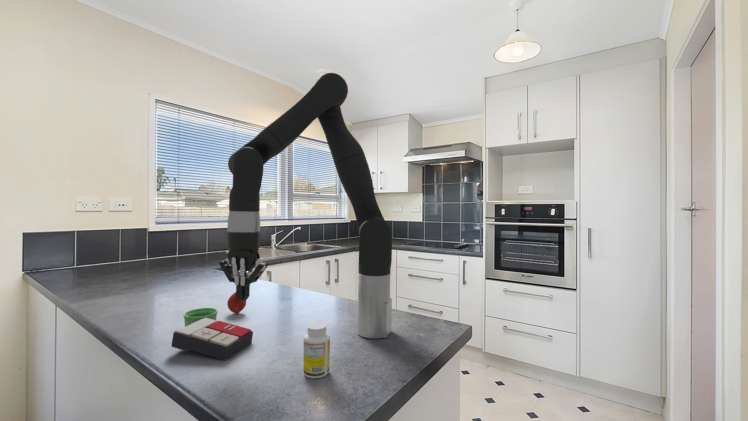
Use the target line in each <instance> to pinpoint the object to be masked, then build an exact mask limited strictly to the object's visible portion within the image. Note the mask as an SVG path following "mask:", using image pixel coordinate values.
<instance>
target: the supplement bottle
mask: <svg viewBox="0 0 748 421" xmlns="http://www.w3.org/2000/svg"><path fill="white" fill-rule="evenodd" d="M330 336H331V335H330V334H329V332H327V325H326V324H325V323H322V322H313V323H310V324H308V325H307V333H306V334H304V336H303V374H304V376H306V377H307V378H308V379H309V378H310V379H320V378H324V377H325V376H327V375H328V374H329V372H330V368H331V367H330V354H331V352H330V349H331V345H330V344H331V337H330Z"/></svg>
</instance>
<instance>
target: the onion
mask: <svg viewBox="0 0 748 421" xmlns="http://www.w3.org/2000/svg"><path fill="white" fill-rule="evenodd" d="M226 303H227V308H228V310H229V311H230V312H232V313H233V314H235V315H239V314H240V313H241V312H242V311H243V310H244V308H246V305H247V300H245V301H239V300H237V297H236V291H235V292H234V293H232V294H231V295H230V297H229V298H228V300H227V302H226Z"/></svg>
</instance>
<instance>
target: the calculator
mask: <svg viewBox="0 0 748 421" xmlns="http://www.w3.org/2000/svg"><path fill="white" fill-rule="evenodd" d="M253 334H254V331H253V330H252V329H250V328H247V327H244V326H239V325H237V324H233V323H230V322H229V323H228V322H227V321H222V320H217V319H216V320H212V319H209V318H203V319H201V320H199V321H197V322H195V323H192V324H190V325H188V326H186V327H185V326H183V327H181V328H179V329H177V330H176V331H173V334H172V340H171V348H175V349H178V350H182V351H186V350H190V351H192V352H196V353H200V354H202V355H206V356H209V357H213V358H216V359H219V360H223V361H226V360H228V359H230V358H231V357H232V356H234V355H236V353H238V352H239V351H240V352H241V351H242V350H243V349H244V348H246V347H247V346H249V345H250V344H251V343H252V342H253Z"/></svg>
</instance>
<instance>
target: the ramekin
mask: <svg viewBox="0 0 748 421" xmlns="http://www.w3.org/2000/svg"><path fill="white" fill-rule="evenodd" d="M217 315H218V309H217V308H213V307H200V308H195V309H191V310H188V311H185V312H184V313H183V318H184V327H186V326H188V325H190V324H192V323H195V322H197V321H199V320H201V319H203V318H209V319H212V320H216V321H217Z"/></svg>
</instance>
